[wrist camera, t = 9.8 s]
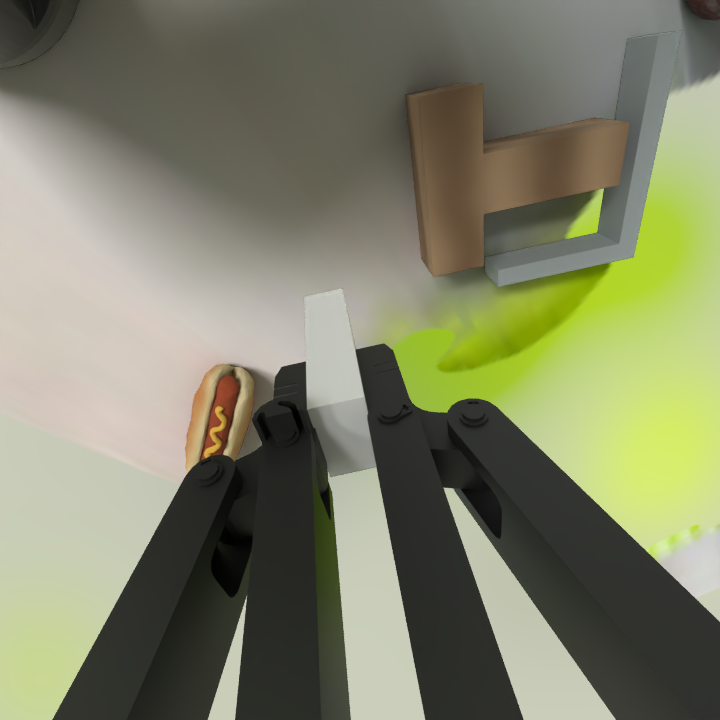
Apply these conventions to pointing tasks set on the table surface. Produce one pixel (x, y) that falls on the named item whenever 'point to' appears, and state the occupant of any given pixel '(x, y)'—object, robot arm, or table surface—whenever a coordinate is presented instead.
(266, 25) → the table surface
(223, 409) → the food
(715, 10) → the can
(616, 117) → the bracket
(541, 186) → the t block
